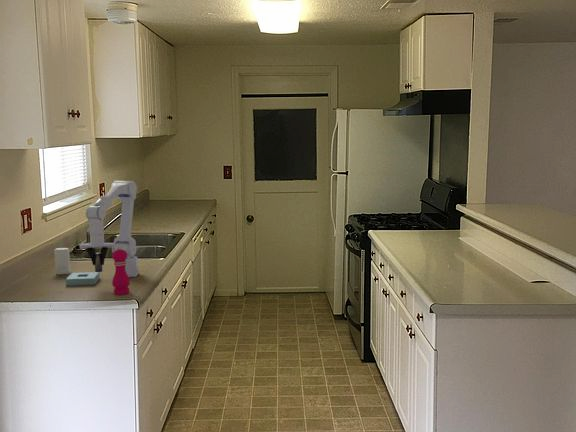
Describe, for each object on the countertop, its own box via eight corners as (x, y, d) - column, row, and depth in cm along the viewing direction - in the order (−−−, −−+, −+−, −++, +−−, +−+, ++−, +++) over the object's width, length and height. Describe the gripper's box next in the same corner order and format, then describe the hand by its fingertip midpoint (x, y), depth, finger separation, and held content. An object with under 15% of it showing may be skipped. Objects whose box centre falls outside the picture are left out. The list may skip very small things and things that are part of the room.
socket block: (99, 278, 287) (99, 271, 287) (94, 284, 276) (94, 278, 275) (72, 279, 286) (72, 272, 286) (66, 285, 274) (65, 279, 274)
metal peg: (103, 270, 273) (102, 252, 271) (101, 272, 270) (100, 253, 268) (95, 270, 272) (95, 252, 271) (94, 272, 269) (93, 254, 268)
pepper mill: (130, 294, 260) (128, 246, 257) (112, 295, 258) (110, 248, 255) (130, 290, 267) (128, 243, 264) (112, 291, 265) (110, 244, 262)
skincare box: (71, 272, 300) (69, 247, 298) (68, 274, 295) (67, 249, 294) (57, 272, 299) (56, 247, 297) (55, 274, 295) (53, 249, 293)
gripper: (77, 235, 264) (79, 267, 266) (112, 234, 265) (114, 266, 267) (80, 232, 271) (82, 263, 273) (115, 232, 272) (116, 262, 274)
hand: (98, 264), depth 270 cm, fingers closed on metal peg, 3 cm apart
